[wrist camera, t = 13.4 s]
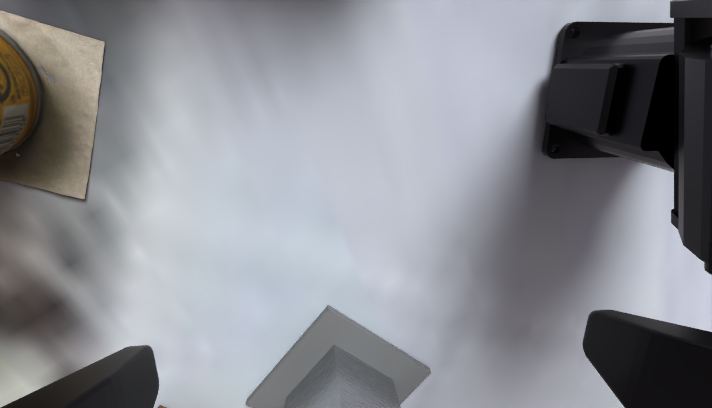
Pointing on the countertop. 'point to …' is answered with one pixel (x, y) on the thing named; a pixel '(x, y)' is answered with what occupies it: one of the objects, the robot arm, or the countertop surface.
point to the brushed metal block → (343, 385)
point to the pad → (349, 338)
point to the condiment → (47, 105)
